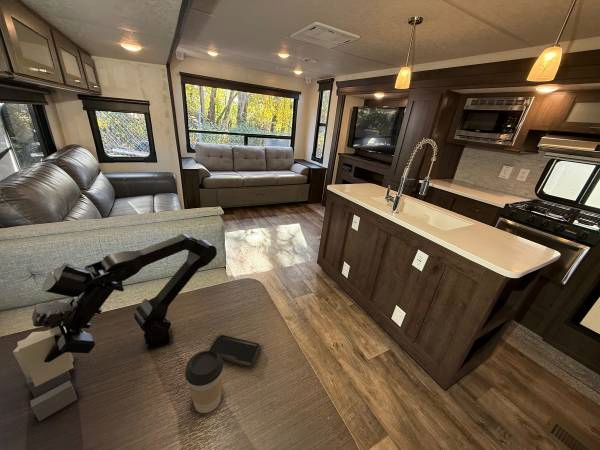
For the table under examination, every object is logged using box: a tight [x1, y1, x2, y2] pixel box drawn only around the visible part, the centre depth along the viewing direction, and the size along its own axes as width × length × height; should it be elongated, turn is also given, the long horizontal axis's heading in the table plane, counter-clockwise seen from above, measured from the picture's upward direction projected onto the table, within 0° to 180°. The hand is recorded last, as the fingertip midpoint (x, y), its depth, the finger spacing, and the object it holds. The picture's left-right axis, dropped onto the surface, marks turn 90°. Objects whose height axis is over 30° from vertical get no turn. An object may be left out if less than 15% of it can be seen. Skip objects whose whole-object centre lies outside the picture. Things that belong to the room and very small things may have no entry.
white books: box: [12, 331, 74, 379], centre depth 67 cm, size 7×6×12 cm
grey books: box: [26, 370, 78, 422], centre depth 63 cm, size 7×10×6 cm
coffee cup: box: [184, 349, 224, 414], centre depth 64 cm, size 9×9×15 cm
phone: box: [209, 334, 261, 367], centre depth 80 cm, size 8×1×15 cm
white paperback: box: [16, 326, 75, 387], centre depth 60 cm, size 7×3×12 cm, turn 139°
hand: (45, 357), depth 60 cm, fingers closed on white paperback, 3 cm apart
